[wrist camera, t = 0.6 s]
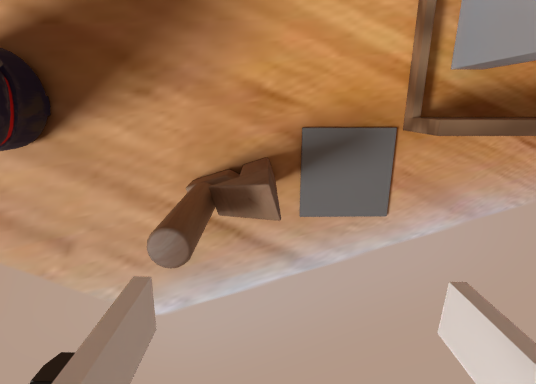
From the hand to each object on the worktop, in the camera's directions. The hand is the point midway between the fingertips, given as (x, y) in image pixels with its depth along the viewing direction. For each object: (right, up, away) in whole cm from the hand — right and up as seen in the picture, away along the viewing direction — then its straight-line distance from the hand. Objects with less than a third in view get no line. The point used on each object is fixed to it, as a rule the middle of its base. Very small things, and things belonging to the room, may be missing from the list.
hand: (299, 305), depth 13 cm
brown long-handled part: (-6, +7, +27) cm, 28 cm away
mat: (+9, +8, +27) cm, 29 cm away
